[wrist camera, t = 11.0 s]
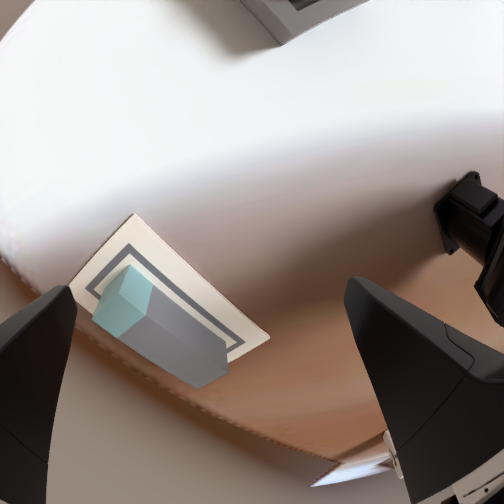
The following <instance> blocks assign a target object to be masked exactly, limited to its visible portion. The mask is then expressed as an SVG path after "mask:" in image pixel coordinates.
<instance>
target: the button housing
mask: <svg viewBox="0 0 504 504" xmlns="http://www.w3.org/2000/svg"><path fill="white" fill-rule="evenodd" d="M240 1H241V2H242V3H243V4H244V5H245V6H246V7H247V8H248V9H249V10H250V11H251V12H252V13H253V14H254V15H255V16H256V17H257V19H258V20H259V21H260V22H261V23H262V24H263V25H264V26H265V27H266V29H267V30H268V31H269V32H270V33H271V34H272V36H273V37H274V38H275V39H276V40H277V41H278V43H279V44H280V45H281V46H282V45H284V44H286V43H287V42H289V41H291V40H293V39H294V38H296V37H298V36H299V35H301V34H303V33H305V32H307V31H308V30H310V29H312V28H314V27H316V26H318V25H320V24H321V23H323V22H325V21H327V20H329V19H331V18H333V17H335V16H337V15H339V14H341V13H344V12H346V11H348V10H350V9H352V8H354V7H357V6H359V5H361V4H363V3H365V2H367V1H369V0H240Z"/></svg>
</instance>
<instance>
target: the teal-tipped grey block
mask: <svg viewBox="0 0 504 504" xmlns="http://www.w3.org/2000/svg"><path fill="white" fill-rule="evenodd" d="M92 320H93V321H94V322H96V323H97V324H98V325H99V326H101V327H102V328H103V329H105V330H106V331H107V332H109V333H110V334H112V335H113V336H114V337H116V338H117V339H119V340H120V341H121V342H123V343H124V344H126V345H127V346H129V347H130V348H131V349H133V350H134V351H136V352H137V353H139V354H140V355H142V356H143V357H145V358H146V359H148V360H150V361H151V362H153V363H154V364H156V365H157V366H159V367H161V368H162V369H164V370H165V371H167V372H169V373H170V374H172V375H174V376H175V377H177V378H179V379H181V380H182V381H184V382H186V383H187V384H189V385H191V386H193V387H195V388H196V389H199V388H201V387H203V386H205V385H207V384H209V383H211V382H213V381H215V380H217V379H218V378H220V377H222V376H224V375H226V374H228V373H229V370H228V359H227V349H226V341H224V340H223V339H222V338H220V337H219V336H217V335H216V334H215V333H213V332H212V331H211V330H210V329H208V328H207V327H206V326H204V325H203V324H202V323H200V322H199V321H198V320H197V319H195V318H194V317H193V316H191V315H190V314H189V313H188V312H186V311H185V310H184V309H183V308H181V307H180V306H179V305H178V304H176V303H175V302H174V301H173V300H171V299H170V298H169V297H168V296H167V295H165V294H164V293H163V292H162V291H161V290H159V289H158V288H157V287H156V286H155V285H153V284H152V283H151V282H150V281H149V280H148V279H146V278H145V277H144V276H143V275H142V274H141V273H139V272H138V271H137V270H136V269H135V268H134V267H133V266H132V265H129V266H128V267H127V268H126V269H125V270H124V271H123V272H121V273H120V274H119V275H118V276H117V277H116V278H115V279H114V280H113V281H112V282H111V283H110V284H109V285H108V286H107V287H106V288H105V289H104V291H103V293H102V295H101V298H100V300H99V302H98V304H97V307H96V309H95V312H94V314H93V316H92Z"/></svg>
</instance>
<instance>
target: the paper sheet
mask: <svg viewBox="0 0 504 504" xmlns="http://www.w3.org/2000/svg"><path fill="white" fill-rule="evenodd" d="M129 265H132V266H133V267H134V268H135V269H136V270H137V271H138V272H139V273H141V274H142V275H143V276H144V277H145V278H146V279H148V280H149V281H150V282H151V283H152V284H153V285H155V286H156V287H157V288H158V289H159V290H161V291H162V292H163V293H164V294H165V295H167V296H168V297H169V298H170V299H171V300H173V301H174V302H175V303H176V304H178V305H179V306H180V307H181V308H183V309H184V310H185V311H186V312H188V313H189V314H190V315H191V316H193V317H194V318H195V319H197V320H198V321H199V322H200V323H202V324H203V325H204V326H206V327H207V328H208V329H210V330H211V331H212V332H213V333H215V334H216V335H217V336H219V337H220V338H222V339H223V340H224V341H226V349H227V359H228V363H229V362H231V361H233V360H235V359H236V358H238V357H240V356H241V355H243V354H245V353H247V352H248V351H250V350H252V349H253V348H255V347H257V346H258V345H260V344H262V343H263V342H265V341H267V340H268V339H270V336H269V335H268V334H267V333H266V332H265V331H263V330H262V329H261V328H260V327H259V326H258V325H256V324H255V323H254V322H253V321H252V320H251V319H249V318H248V317H247V316H246V315H245V314H244V313H242V312H241V311H240V310H239V309H238V308H237V307H236V306H234V305H233V304H232V303H231V302H230V301H229V300H228V299H226V298H225V297H224V296H223V295H222V294H221V293H220V292H219V291H217V290H216V289H215V288H214V287H213V286H212V285H211V284H210V283H208V282H207V281H206V280H205V279H204V278H203V277H202V276H201V275H200V274H199V273H197V272H196V271H195V270H194V269H193V268H192V267H191V266H190V265H189V264H188V263H187V262H186V261H184V260H183V259H182V258H181V257H180V256H179V255H178V254H177V253H176V252H175V251H174V250H173V249H172V248H171V247H170V246H168V245H167V244H166V243H165V242H164V241H163V240H162V239H161V238H160V237H159V236H158V235H157V234H156V233H155V232H154V231H153V230H152V229H151V228H150V227H149V226H148V225H147V224H146V223H145V222H144V221H143V220H141V219H140V218H139V217H138V216H137V215H136V214H135V213H134V214H133V215H132V216H131V217H130V218H129V219H128V220H127V221H126V222H125V223H124V224H123V225H122V226H121V227H120V228H119V229H118V230H117V231H116V232H115V233H114V235H113V236H112V237H111V238H110V239H109V240H108V241H107V242H106V243H105V244H104V245H103V246H102V247H101V248H100V249H99V251H98V252H97V253H96V254H95V255H94V256H93V257H92V258H91V259H90V261H89V262H88V263H87V264H86V265H85V266H84V267H83V269H82V270H81V271H80V272H79V273H78V274H77V275H76V277H75V278H74V279H73V280H72V281H71V283H70V284H69V285H68V286H69V287H70V288H71V291H72V294H73V297H74V299H75V300H76V301H77V302H78V303H79V304H80V305H82V306H83V307H84V308H85V309H86V310H88V311H89V312H90V313H91V314H94V312H95V309H96V307H97V304H98V302H99V300H100V298H101V295H102V293H103V291H104V289H105V288H106V287H107V286H108V285H109V284H110V283H111V282H112V281H113V280H114V279H115V278H116V277H117V276H118V275H119V274H120V273H121V272H123V271H124V270H125V269H126V268H127V267H128V266H129Z"/></svg>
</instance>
